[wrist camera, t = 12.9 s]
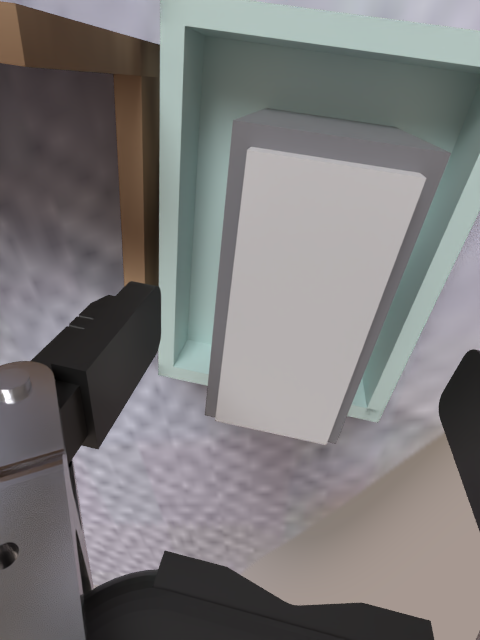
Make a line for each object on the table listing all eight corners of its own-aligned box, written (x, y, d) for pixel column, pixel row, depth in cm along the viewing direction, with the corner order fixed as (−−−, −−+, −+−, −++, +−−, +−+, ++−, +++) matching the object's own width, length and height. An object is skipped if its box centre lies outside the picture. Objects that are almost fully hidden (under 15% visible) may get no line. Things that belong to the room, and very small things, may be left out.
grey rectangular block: (266, 107, 15) (227, 122, 8) (395, 126, 14) (459, 157, 8) (237, 319, 20) (200, 427, 14) (329, 337, 20) (336, 457, 13)
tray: (189, 7, 14) (160, -12, 11) (511, 51, 13) (560, 41, 10) (176, 341, 22) (158, 375, 20) (370, 382, 21) (378, 422, 19)
